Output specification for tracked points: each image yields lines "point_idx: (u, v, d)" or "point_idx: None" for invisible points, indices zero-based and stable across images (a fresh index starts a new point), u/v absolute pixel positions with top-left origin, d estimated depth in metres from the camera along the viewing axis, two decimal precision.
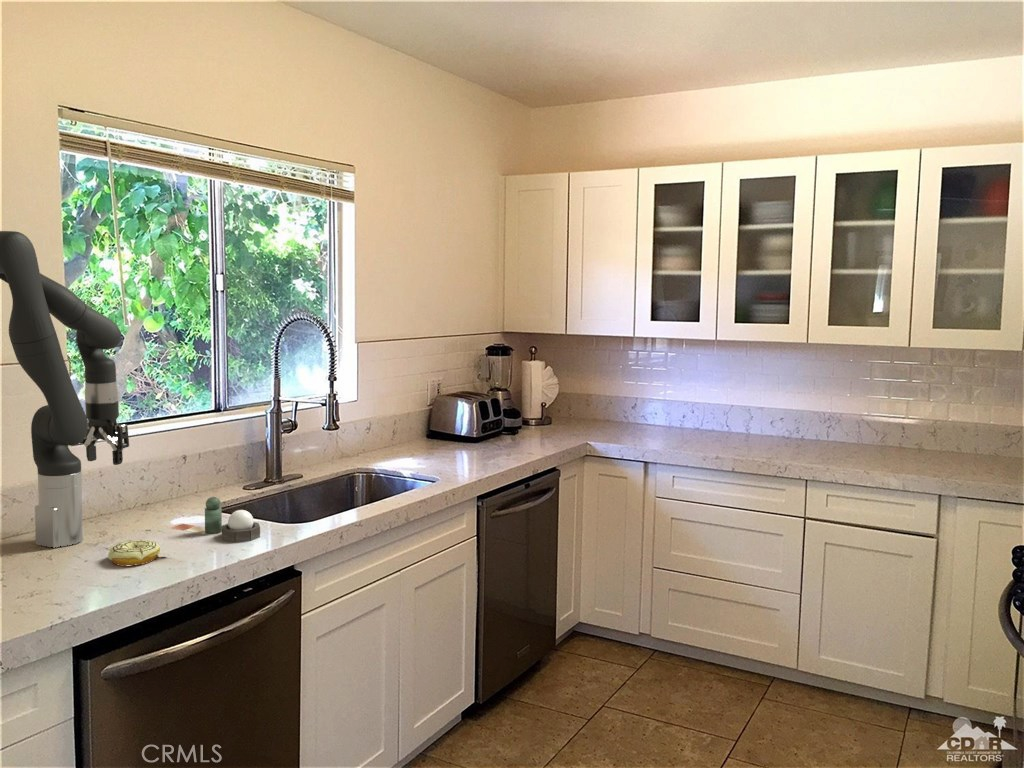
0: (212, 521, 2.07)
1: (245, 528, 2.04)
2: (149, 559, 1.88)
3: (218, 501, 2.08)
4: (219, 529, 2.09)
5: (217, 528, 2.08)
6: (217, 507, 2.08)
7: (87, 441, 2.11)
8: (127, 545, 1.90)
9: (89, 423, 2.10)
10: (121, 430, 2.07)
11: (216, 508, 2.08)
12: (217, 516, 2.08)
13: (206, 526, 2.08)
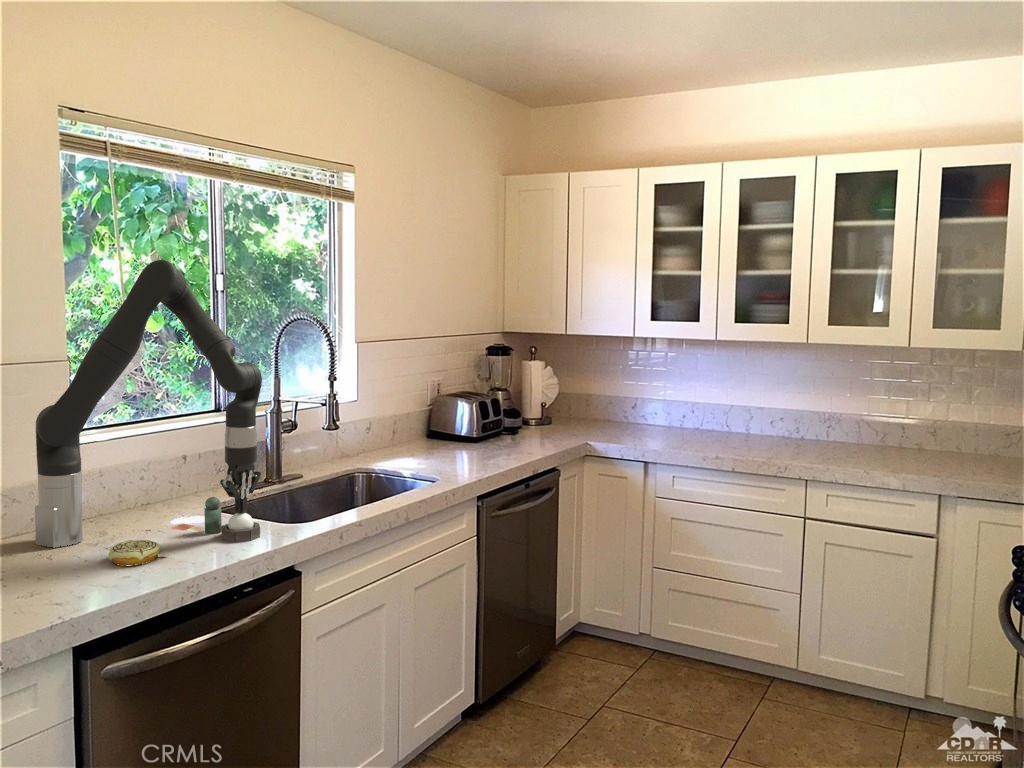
0: (212, 521, 2.07)
1: None
2: (149, 559, 1.88)
3: (217, 501, 2.08)
4: (219, 529, 2.09)
5: (217, 528, 2.08)
6: (216, 507, 2.08)
7: (242, 492, 2.04)
8: (127, 545, 1.90)
9: (235, 472, 2.01)
10: None
11: (215, 508, 2.08)
12: (217, 516, 2.08)
13: (206, 526, 2.08)
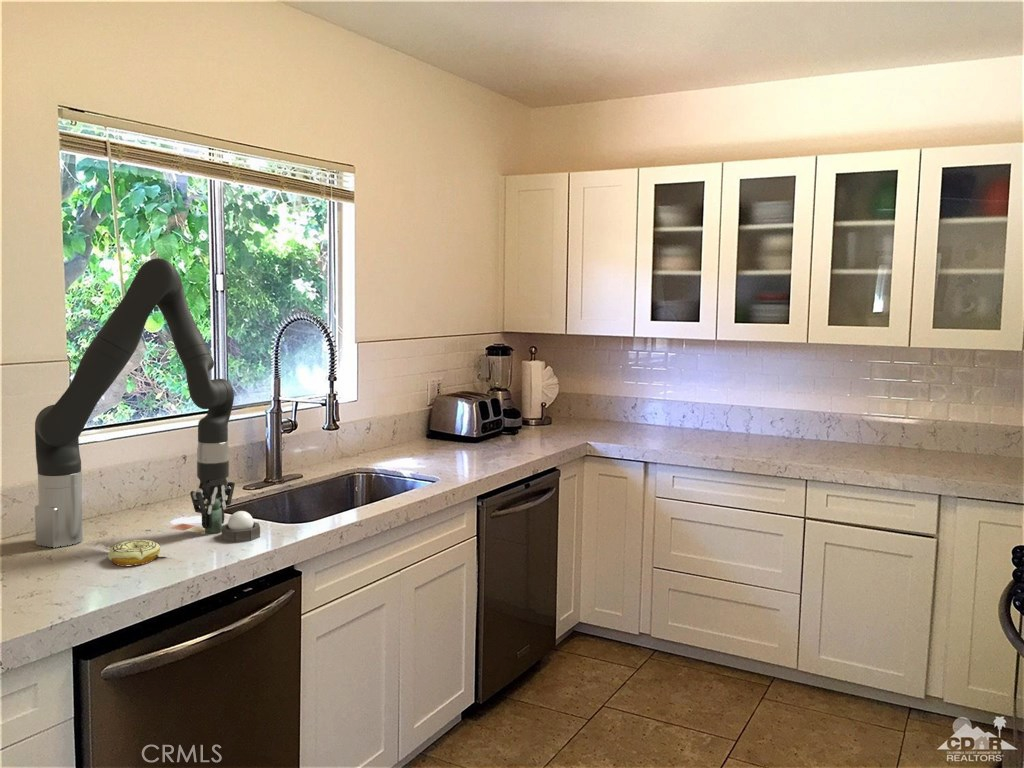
0: (212, 521, 2.07)
1: (245, 529, 2.04)
2: (149, 559, 1.88)
3: (218, 501, 2.08)
4: (219, 529, 2.09)
5: (217, 528, 2.08)
6: (217, 507, 2.08)
7: (209, 507, 2.06)
8: (127, 545, 1.90)
9: (206, 487, 2.05)
10: None
11: (216, 508, 2.08)
12: (217, 516, 2.08)
13: None
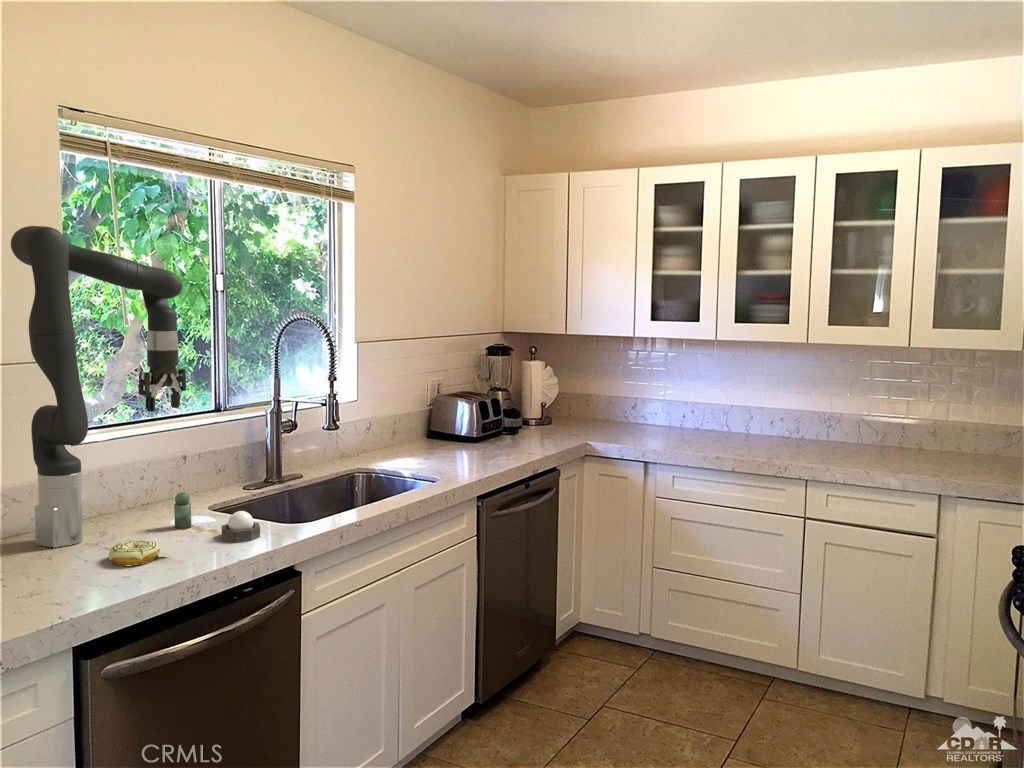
0: (181, 516, 2.11)
1: (245, 529, 2.04)
2: (149, 559, 1.88)
3: (187, 496, 2.12)
4: (188, 524, 2.12)
5: (186, 523, 2.12)
6: (186, 502, 2.11)
7: (154, 391, 2.13)
8: (127, 545, 1.90)
9: (156, 372, 2.14)
10: None
11: (185, 503, 2.11)
12: (186, 511, 2.11)
13: (175, 521, 2.11)
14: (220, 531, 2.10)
